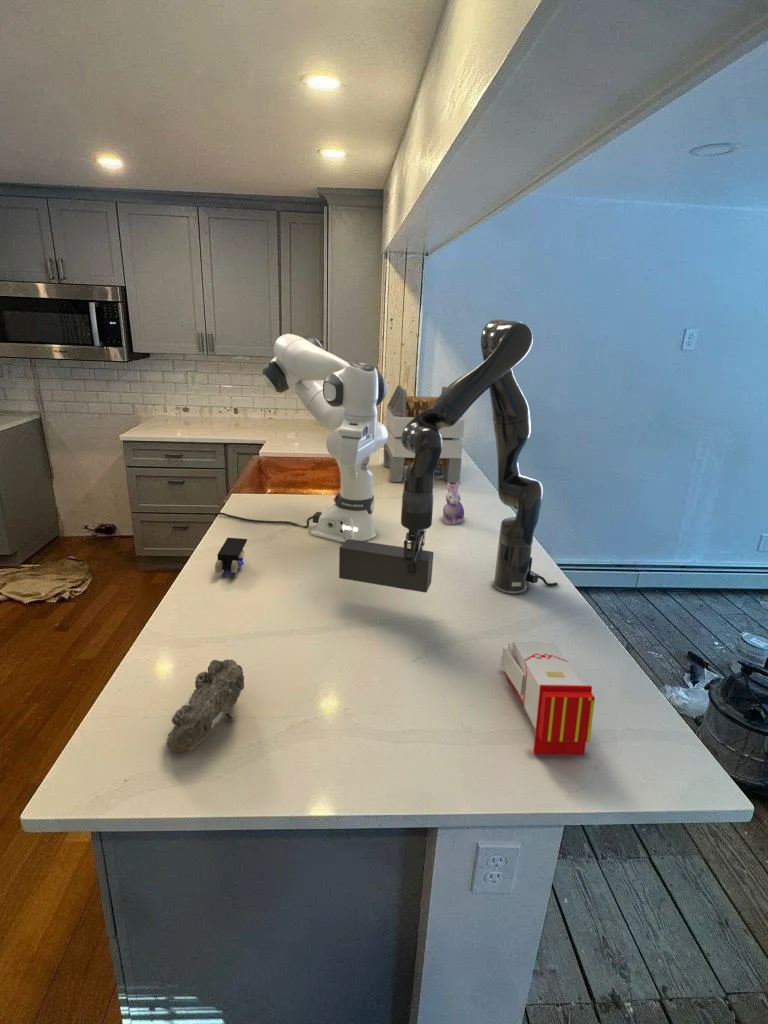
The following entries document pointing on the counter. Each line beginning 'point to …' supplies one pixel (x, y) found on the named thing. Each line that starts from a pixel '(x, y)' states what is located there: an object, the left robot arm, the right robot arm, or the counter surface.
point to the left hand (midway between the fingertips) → (359, 474)
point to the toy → (550, 696)
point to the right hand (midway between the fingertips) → (413, 569)
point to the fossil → (206, 705)
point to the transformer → (397, 456)
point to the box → (383, 565)
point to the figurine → (453, 506)
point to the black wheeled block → (230, 556)
